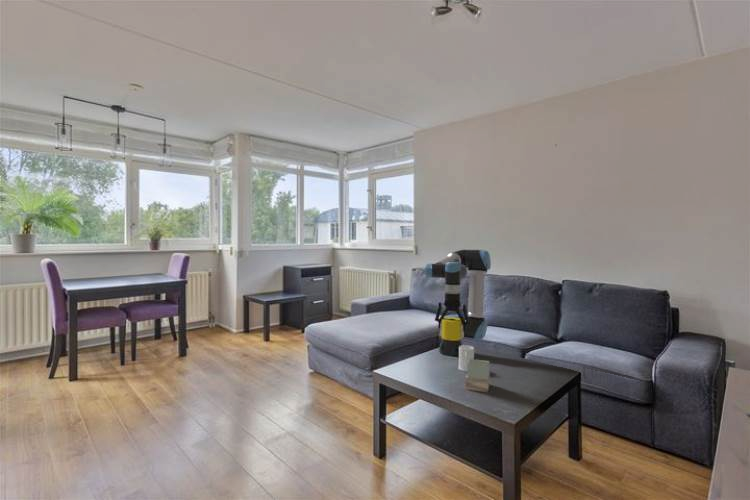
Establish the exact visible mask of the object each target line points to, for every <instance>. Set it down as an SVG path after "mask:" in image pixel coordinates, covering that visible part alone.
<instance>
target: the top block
mask: <svg viewBox="0 0 750 500" xmlns="http://www.w3.org/2000/svg"><path fill="white" fill-rule="evenodd" d="M489 373H490V360H483V359H477V358H476V359H475V358H474V359H470V361H469V363H468V365H467V373H466V376H467V377H471V378H477V379H484V380H487V378H488V375H489Z"/></svg>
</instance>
